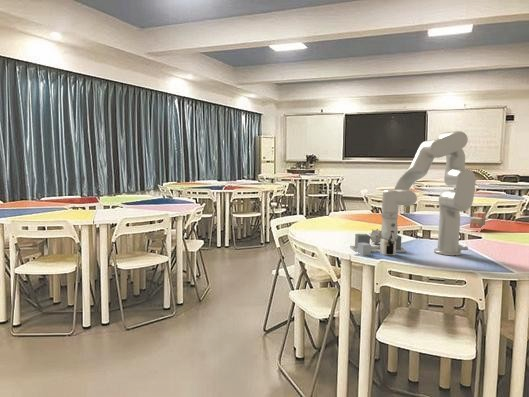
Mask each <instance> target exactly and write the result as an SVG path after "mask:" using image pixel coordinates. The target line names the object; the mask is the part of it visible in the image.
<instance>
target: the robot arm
mask: <svg viewBox="0 0 529 397" xmlns="http://www.w3.org/2000/svg"><path fill="white" fill-rule="evenodd" d="M468 141H469V140H468V136H467V134H466V133H465V132H464V131H461V130H456V131H447V132H446V131H445V132H442V133H440V134H439V135H438V136H437V137H436V139H430V140H425V141H424V140H423V142H421V143H420V145H419V146H418V149H417V151H416V152H415V155H414V157H413V159H412V162H411V163H410V166H409V167H408V169H407V170H406V171H404V173H403V174H402V175H401V176H400V177H399V179H398V180H397V182H396V184H395V186H394V187H393V189H384V190H383V191H382V200H381V201H382V203H381V219H382V221H381V230H380V231H381V235H382V237H383V239H387V245H388V246H387V250H386V254H393V248H394V242H395V240H397V235H398V218H399V206H406V207H410V206H413V205H414V204H416V202H417V201H418V200H417V199H418V196H417V194H416V193H415V192H414V191H412V190H410V188H411V187H412V186H413V185H414V184H415V183H416V182H417V181H418V180H421V179H422V178H424V177H425V176H427V174H428V172H429V170H430V168H431V166H432V163H433V162H434V159H436V158H437V159H439V158H443V157H446V158H445V159H446V163H445V170H444V171H445V172H444V180H443V181H444V183H445V185H446V186H448V187H450V188H455V189H445V190H444V191H442V192H441V193H440V195H439V197H438V208H439V221H438V222H439V223H438V232H437V234H438V236H437V237H438V238H437V248H434V249H433V252H434V253H436V254H438V255H443V256H444V255H445V256H454V255H456V256H461V255H462V251H468V250H469V247H468V245H467V246H464V245H461V244H459V242H460V241H459V240H460V230H461V229H460V228H461V227H460V226H461V213H460V212H467V211H469V210H470V208H471V207H472V205H473V202H474V196H475V189H476V183H477V182H476V174H475V173H474V172H473V170H471V169H469V168H466V154H465V151H464V148H465V147H466V146H467V143H468ZM389 238H391V239H389ZM389 241H390V242H389ZM454 257H455V256H454Z"/></svg>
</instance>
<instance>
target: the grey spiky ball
mask: <svg viewBox="0 0 529 397" xmlns="http://www.w3.org/2000/svg"><path fill="white" fill-rule="evenodd" d="M371 230H372V231H371V233H370V232H369V234H368V235H369V236H370V241H371V243H374V244H375V246H377V245H378V244H380V239H383V237H382V235H381V230H379V229H378V228H376V230H374V229H371Z"/></svg>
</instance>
